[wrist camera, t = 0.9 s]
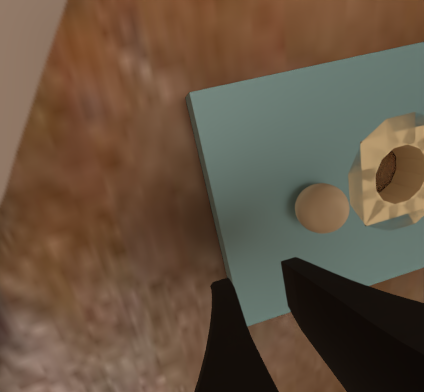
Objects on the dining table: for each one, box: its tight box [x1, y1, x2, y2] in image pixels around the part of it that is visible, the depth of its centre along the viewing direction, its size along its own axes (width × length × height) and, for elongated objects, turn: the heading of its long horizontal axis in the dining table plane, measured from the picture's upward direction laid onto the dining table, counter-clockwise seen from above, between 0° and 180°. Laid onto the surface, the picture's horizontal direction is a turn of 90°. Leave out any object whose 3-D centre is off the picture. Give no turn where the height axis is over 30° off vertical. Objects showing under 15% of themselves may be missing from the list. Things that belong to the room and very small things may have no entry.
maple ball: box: [295, 183, 349, 234], centre depth 16 cm, size 3×3×3 cm
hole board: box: [185, 42, 424, 326], centre depth 19 cm, size 18×16×2 cm
